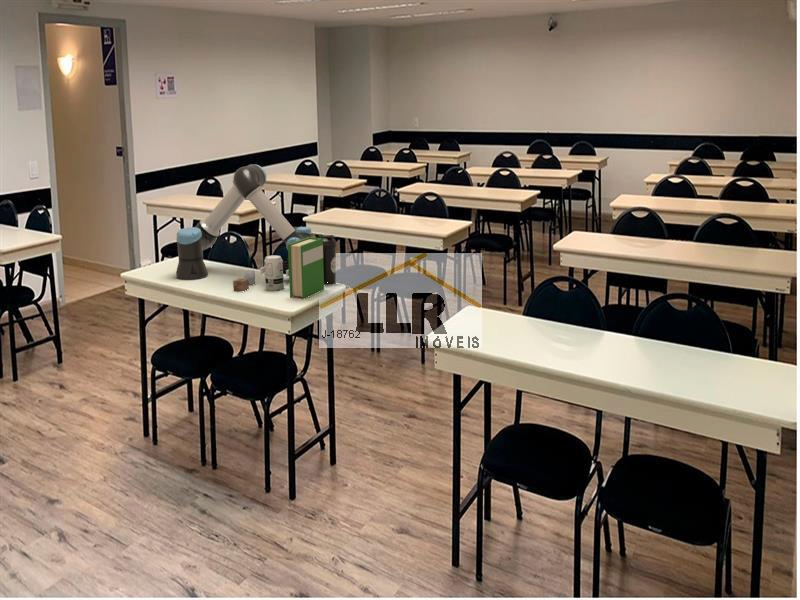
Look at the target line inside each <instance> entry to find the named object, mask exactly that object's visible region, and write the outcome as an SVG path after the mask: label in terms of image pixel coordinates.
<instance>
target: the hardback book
mask: <svg viewBox="0 0 800 600" xmlns="http://www.w3.org/2000/svg"><path fill="white" fill-rule="evenodd" d="M287 253H288V254H287V255H288V256H287V258H288V261H289V276H288V277H289V279H288V280H289V284H288V285H289V298H293V296H294V297H301V298H302V299H303V298H305V299H307V298H309V297H308V296H310V297H312V296H313V294H314V295H315V293H316V294H318V293H320V292H322V291H324V290H325V285H324V268H323V239H322V238H317V237H313V236H312V237H308V238H305V239H302V240H299V241H296V242H293V243H290V244H288V250H287ZM323 289H324V290H323ZM321 290H322V291H321ZM319 291H320V292H319ZM317 292H318V293H317ZM311 295H312V296H311ZM306 297H307V298H306Z"/></svg>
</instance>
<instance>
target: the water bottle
mask: <svg viewBox="0 0 800 600" xmlns="http://www.w3.org/2000/svg"><path fill="white" fill-rule="evenodd" d="M334 237H335V235H333V234H330V235H323V234H318V235H317V236H316V238H322V239H323V268H324V286H329V285H328V284H332V285H334V284H336V280H337V278H336V276H337V274H336V273H337V264H336V263H337V257H336V256H337V255H336V254H337V251H336V250H337V245H338V244H337V241H336V239H335V238H334ZM327 282H328V283H327Z"/></svg>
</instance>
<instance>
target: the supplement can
mask: <svg viewBox="0 0 800 600" xmlns="http://www.w3.org/2000/svg"><path fill="white" fill-rule="evenodd" d="M283 262H284V260H283V259H282V257H281V255H275V254H274V255H267V256H265V257H264V264H265V273H264V278H265V279H264V281H265V288H266V289H267V290H268V289H269V290H268V291H280V290H282V289H283V288H284V287H285V286H284V284H285V283H284V270H283Z"/></svg>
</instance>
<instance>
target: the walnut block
mask: <svg viewBox="0 0 800 600" xmlns="http://www.w3.org/2000/svg"><path fill="white" fill-rule="evenodd" d="M232 287H233V292H239V291H244V292H246V291H248V290H247V289H249V290H250V285H249V282H248V279H245V278H242V277H239V278H238V277H237V278H236V279H234V280H232ZM245 290H246V291H245Z"/></svg>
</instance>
